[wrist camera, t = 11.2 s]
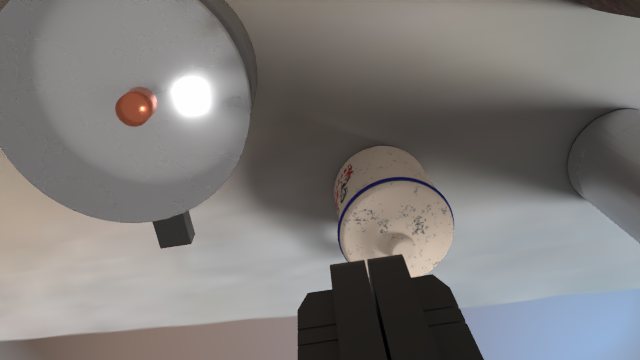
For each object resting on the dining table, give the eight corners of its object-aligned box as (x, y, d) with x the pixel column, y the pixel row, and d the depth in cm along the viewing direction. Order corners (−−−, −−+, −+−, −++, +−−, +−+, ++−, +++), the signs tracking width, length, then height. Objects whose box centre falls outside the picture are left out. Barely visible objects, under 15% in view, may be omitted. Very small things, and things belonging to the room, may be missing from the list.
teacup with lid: (325, 148, 47) (334, 203, 36) (426, 135, 46) (465, 187, 36) (339, 263, 51) (351, 342, 40) (431, 251, 51) (467, 327, 40)
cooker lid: (220, -57, 31) (212, -59, 28) (271, 196, 37) (269, 216, 34) (-54, -12, 31) (-91, -10, 28) (44, 231, 37) (22, 254, 34)
